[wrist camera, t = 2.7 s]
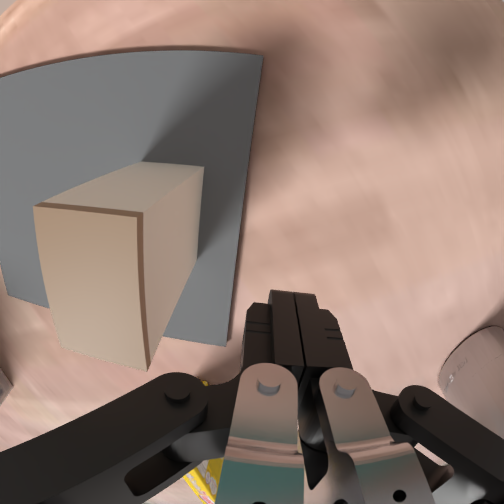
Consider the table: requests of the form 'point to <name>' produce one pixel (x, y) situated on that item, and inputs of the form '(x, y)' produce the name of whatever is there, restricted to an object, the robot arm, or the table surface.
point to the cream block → (119, 258)
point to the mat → (131, 157)
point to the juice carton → (4, 386)
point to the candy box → (205, 478)
